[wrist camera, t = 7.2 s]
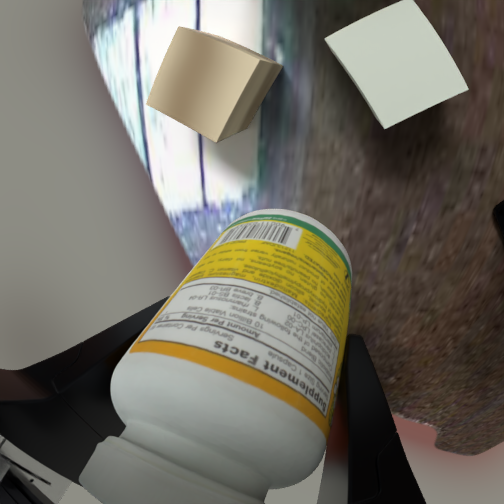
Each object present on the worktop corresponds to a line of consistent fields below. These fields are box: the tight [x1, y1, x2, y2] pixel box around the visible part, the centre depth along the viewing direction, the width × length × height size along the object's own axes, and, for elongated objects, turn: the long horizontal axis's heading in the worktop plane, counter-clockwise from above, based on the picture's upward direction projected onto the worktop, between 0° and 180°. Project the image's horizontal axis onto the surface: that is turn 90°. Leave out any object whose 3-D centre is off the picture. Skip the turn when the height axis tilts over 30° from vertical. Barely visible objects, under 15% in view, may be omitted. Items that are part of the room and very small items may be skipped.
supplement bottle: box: [79, 209, 352, 504], centre depth 7 cm, size 5×5×10 cm
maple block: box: [146, 26, 283, 143], centre depth 15 cm, size 5×5×5 cm
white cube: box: [325, 0, 469, 129], centre depth 11 cm, size 5×5×5 cm
